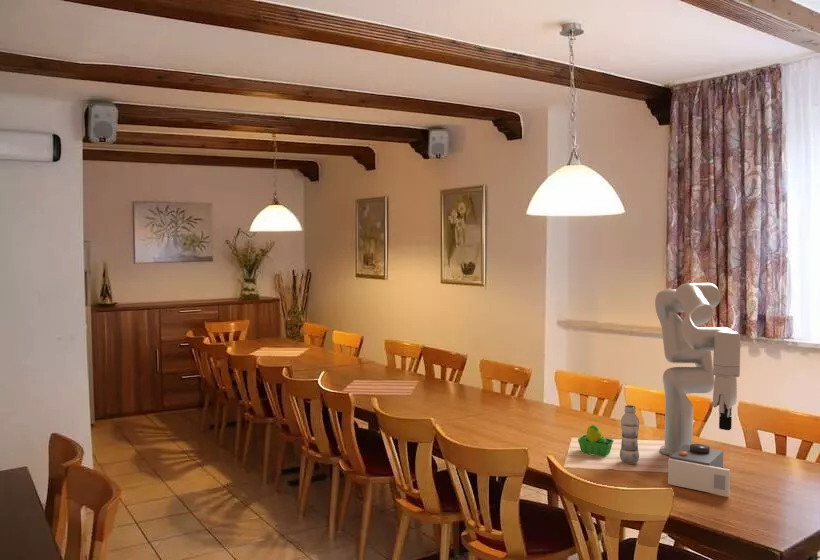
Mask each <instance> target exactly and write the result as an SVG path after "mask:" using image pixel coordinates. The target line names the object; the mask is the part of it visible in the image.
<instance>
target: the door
mask: <svg viewBox="0 0 820 560" xmlns="http://www.w3.org/2000/svg"><path fill="white" fill-rule="evenodd" d="M667 462H668V466H667V468H668V471H667V484H668V485H671V486H675V487H676V486H677V487H680V488H686V489H690V490H695V491H699V492H706V493H710V494H715V495H719V496H724V497H730V493H731V492H730V488H731V487H730V484H731V483H730V482H731V469H730V468H729V469H728V468H724V467H723V468H719V467H714V466H708V465H703V464H698V463H692V462H687V461H682V460H676V459H671V458H670V457H669V458H668V460H667Z"/></svg>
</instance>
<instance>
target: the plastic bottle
mask: <svg viewBox="0 0 820 560" xmlns="http://www.w3.org/2000/svg"><path fill="white" fill-rule="evenodd" d="M636 409H637V407H636V405H632V404H630V405H628V404H626V405H624V413H623V415H622V416H621V418H620V428H621V429H620V430H621V446H620V451H619V458H620V461H621V462H623V463H626V464H633V465H634V464H637V463H638V462H639V459H640V452H639V446H638V445H639V444H638V442H639V441H638V437H639V430H640V429H639V428H640V419H639V418H638V415H637V414H636Z"/></svg>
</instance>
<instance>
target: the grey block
mask: <svg viewBox="0 0 820 560" xmlns="http://www.w3.org/2000/svg"><path fill="white" fill-rule="evenodd" d="M710 447H711V446H709V445H706V444H701V443H693V444H691V445H684V446H683V447H681V448H680V449H679V450H678V451H676V452H675V453H674V454H672V455H671V456H669V458H671V459H676V460H682V461H687V462H692V463H698V464H703V465H708V466H714V467H719V468H724V450H718V449H713V448H710Z"/></svg>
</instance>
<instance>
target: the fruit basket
mask: <svg viewBox="0 0 820 560" xmlns="http://www.w3.org/2000/svg"><path fill="white" fill-rule="evenodd" d="M602 435H603V434H602V431H601V429H600V428H599V427H598V426H597V425H596V424H592V425H590V426H588V427H587V431H586V434H584V435H582V436H581V437H579V438H577V442H578V445H579V447H580V452H581V454H586V455H593V456H597V457H604V458H605V457H607V456H608V455H609V454H610V453H611V449H612V445H613V443H614V441H615V440H614V439H611V438H605V437H604V436H602Z"/></svg>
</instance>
